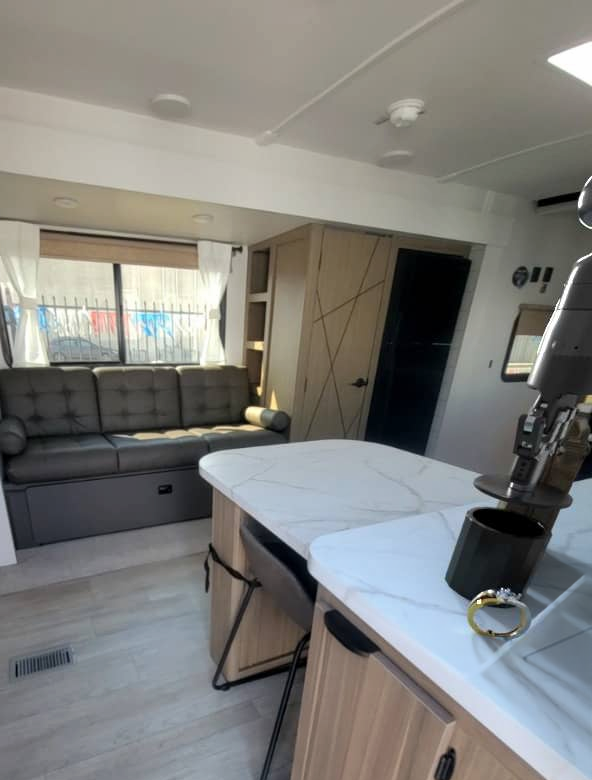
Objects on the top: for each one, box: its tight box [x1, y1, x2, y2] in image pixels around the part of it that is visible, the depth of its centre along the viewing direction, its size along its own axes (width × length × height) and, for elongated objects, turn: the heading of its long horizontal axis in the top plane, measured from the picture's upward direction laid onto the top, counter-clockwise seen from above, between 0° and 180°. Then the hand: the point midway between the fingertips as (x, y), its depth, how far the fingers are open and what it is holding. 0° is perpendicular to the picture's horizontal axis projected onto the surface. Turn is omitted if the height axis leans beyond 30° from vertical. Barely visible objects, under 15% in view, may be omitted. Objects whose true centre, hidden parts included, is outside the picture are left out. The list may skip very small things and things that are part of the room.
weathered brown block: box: [495, 415, 592, 531], centre depth 72 cm, size 19×8×25 cm, turn 143°
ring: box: [466, 587, 532, 642], centre depth 54 cm, size 7×3×8 cm, turn 62°
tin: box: [444, 506, 553, 610], centre depth 63 cm, size 11×11×12 cm
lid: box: [472, 445, 574, 510], centre depth 57 cm, size 12×12×7 cm
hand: (524, 481), depth 58 cm, fingers closed on lid, 3 cm apart
